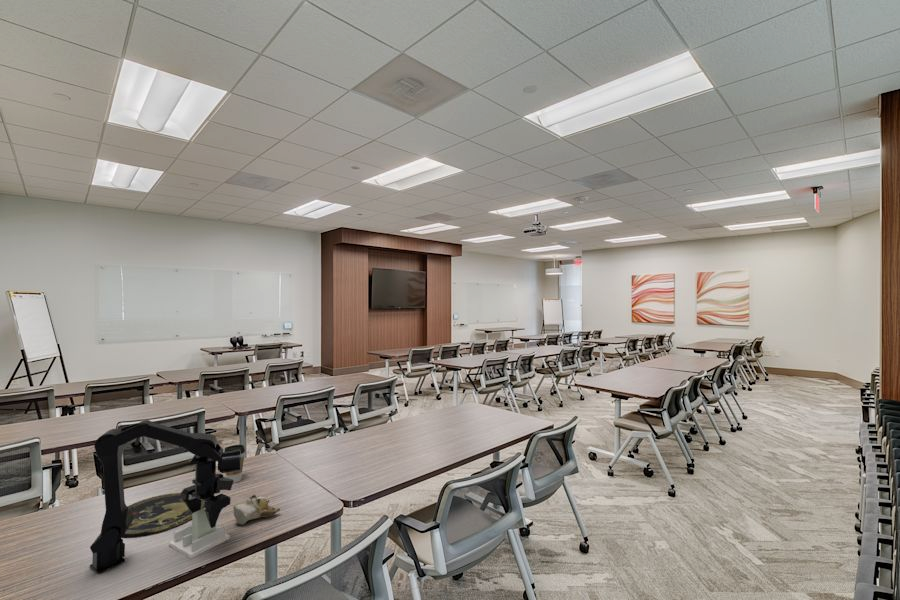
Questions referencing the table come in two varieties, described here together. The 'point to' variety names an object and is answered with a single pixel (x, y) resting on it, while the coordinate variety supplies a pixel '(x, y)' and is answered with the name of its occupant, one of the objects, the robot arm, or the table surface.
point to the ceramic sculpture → (253, 509)
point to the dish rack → (196, 541)
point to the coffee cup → (238, 474)
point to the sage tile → (200, 525)
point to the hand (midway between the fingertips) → (204, 523)
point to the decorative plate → (158, 515)
